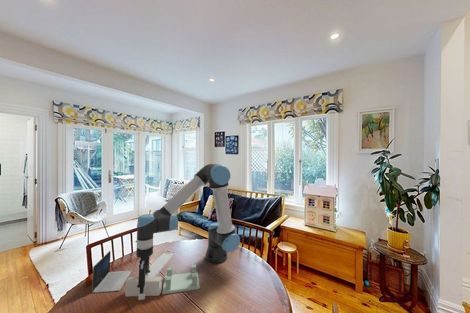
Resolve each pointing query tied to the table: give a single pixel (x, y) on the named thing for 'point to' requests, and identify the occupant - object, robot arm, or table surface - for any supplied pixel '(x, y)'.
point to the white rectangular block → (151, 286)
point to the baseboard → (159, 264)
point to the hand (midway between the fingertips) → (143, 292)
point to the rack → (181, 281)
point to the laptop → (107, 277)
